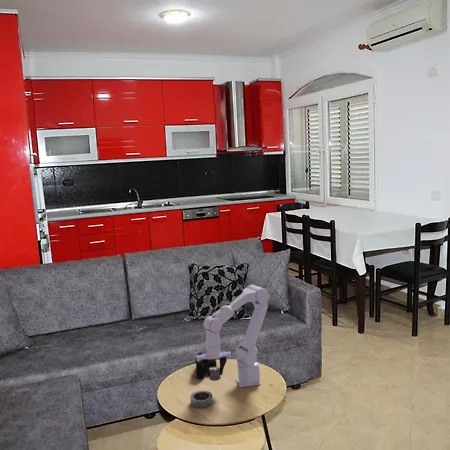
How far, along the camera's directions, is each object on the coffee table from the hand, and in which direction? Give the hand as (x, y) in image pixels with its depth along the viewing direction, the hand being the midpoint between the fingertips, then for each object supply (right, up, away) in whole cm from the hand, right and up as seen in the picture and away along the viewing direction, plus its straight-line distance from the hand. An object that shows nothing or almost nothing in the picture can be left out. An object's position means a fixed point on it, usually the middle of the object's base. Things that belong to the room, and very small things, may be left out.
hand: (214, 374), depth 199 cm
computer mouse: (0, -1, 0) cm, 2 cm away
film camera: (-4, -6, +22) cm, 23 cm away
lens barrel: (-5, -10, -6) cm, 13 cm away
